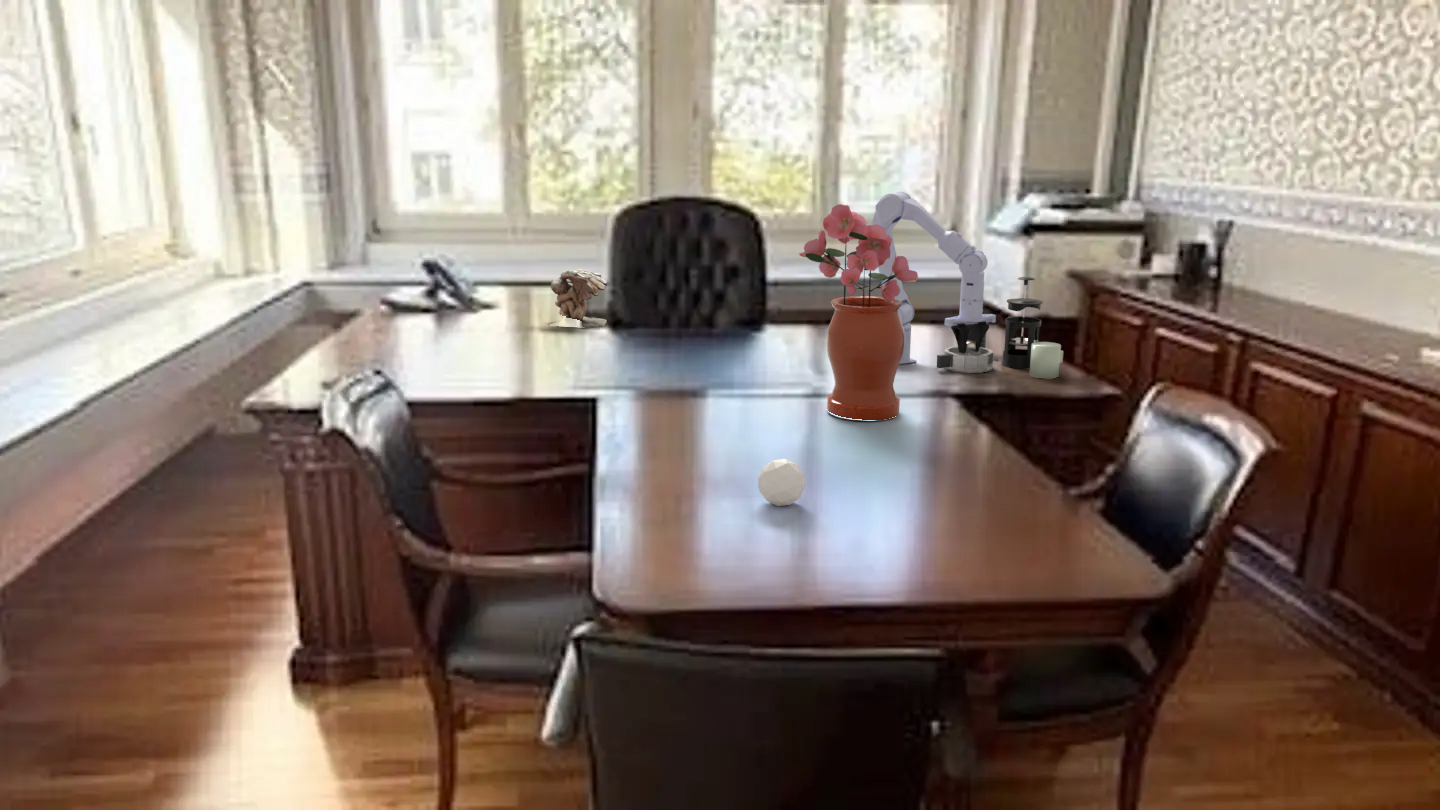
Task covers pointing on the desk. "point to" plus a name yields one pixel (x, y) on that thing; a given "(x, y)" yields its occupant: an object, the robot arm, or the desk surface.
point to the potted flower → (862, 318)
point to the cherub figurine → (578, 294)
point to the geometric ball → (781, 482)
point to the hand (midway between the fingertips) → (968, 351)
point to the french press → (1022, 356)
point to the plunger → (970, 347)
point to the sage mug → (1045, 359)
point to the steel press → (966, 360)
